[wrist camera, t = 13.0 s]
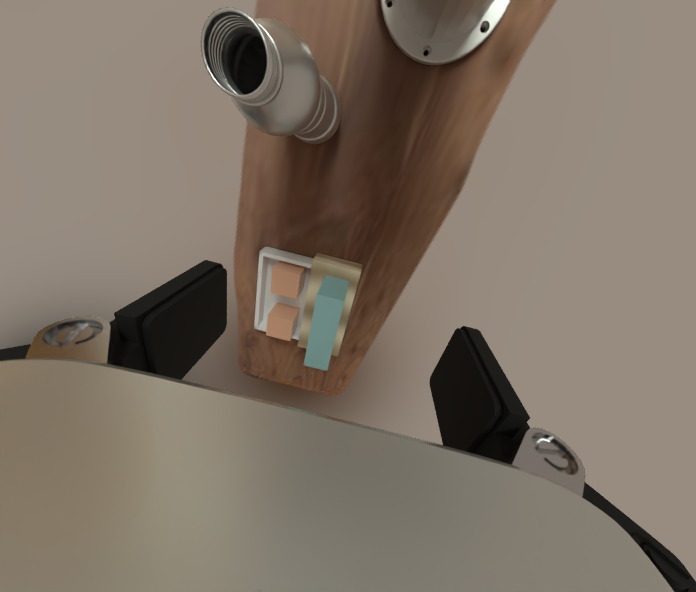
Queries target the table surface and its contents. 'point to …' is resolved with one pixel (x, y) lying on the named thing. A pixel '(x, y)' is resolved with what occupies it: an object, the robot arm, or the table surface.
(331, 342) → the bar
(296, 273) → the tan cube
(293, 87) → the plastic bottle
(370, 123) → the table surface
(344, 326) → the beige gold flat block
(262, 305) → the tray
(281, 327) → the peach cube
